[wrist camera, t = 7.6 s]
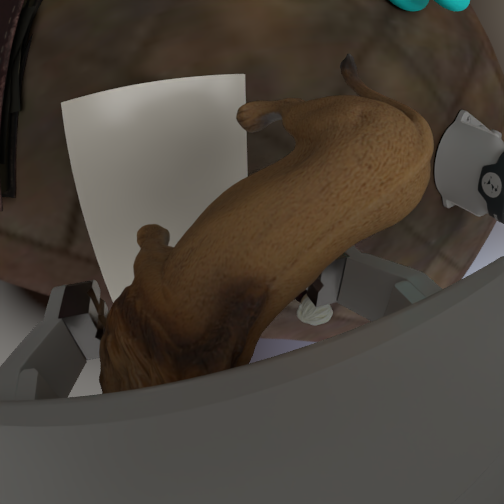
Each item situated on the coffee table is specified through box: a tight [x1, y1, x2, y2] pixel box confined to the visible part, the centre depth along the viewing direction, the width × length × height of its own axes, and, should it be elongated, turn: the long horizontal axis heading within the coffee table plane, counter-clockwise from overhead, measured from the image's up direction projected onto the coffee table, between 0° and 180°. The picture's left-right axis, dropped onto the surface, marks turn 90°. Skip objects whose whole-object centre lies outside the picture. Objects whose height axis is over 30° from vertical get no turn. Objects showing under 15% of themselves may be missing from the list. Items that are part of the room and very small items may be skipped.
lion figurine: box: [99, 54, 434, 394], centre depth 7 cm, size 15×5×9 cm, turn 141°
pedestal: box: [61, 74, 248, 303], centre depth 25 cm, size 14×20×6 cm
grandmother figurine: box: [295, 289, 333, 325], centre depth 32 cm, size 8×4×13 cm, turn 51°
